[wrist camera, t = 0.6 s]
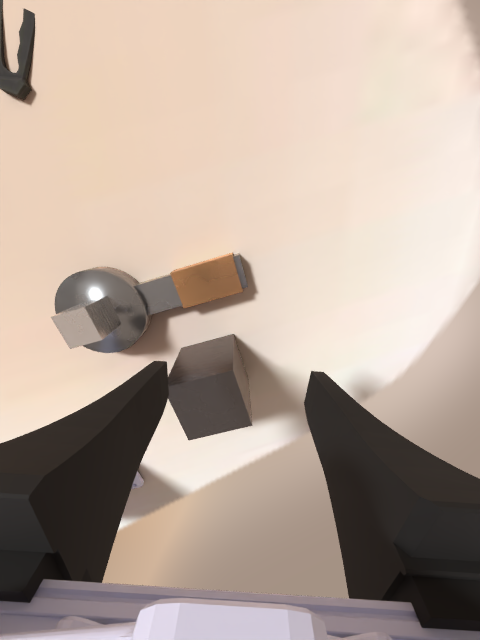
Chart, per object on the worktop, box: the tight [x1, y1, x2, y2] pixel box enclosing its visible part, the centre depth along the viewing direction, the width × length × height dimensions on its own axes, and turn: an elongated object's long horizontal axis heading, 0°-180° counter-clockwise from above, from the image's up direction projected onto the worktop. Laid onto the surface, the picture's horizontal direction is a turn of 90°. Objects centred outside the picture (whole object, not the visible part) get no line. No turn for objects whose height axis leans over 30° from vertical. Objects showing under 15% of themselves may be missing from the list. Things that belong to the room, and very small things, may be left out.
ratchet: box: [51, 253, 248, 353], centre depth 18 cm, size 16×7×5 cm, turn 106°
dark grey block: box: [168, 334, 252, 440], centre depth 20 cm, size 5×5×6 cm
